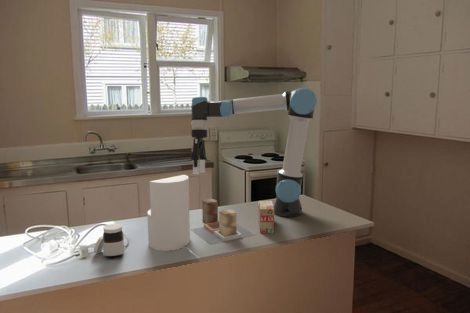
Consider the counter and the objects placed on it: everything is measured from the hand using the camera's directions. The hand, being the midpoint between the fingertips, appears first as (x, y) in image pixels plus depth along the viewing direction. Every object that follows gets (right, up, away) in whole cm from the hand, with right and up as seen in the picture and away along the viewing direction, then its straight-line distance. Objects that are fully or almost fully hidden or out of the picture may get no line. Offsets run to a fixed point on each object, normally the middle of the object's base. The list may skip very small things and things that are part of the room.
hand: (199, 173), depth 192 cm
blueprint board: (+12, -26, -14) cm, 32 cm away
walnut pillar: (+5, -24, +1) cm, 24 cm away
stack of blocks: (+32, -25, -4) cm, 41 cm away
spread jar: (-32, -31, -36) cm, 57 cm away
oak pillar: (+14, -26, -18) cm, 35 cm away
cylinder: (-10, -28, -23) cm, 38 cm away
